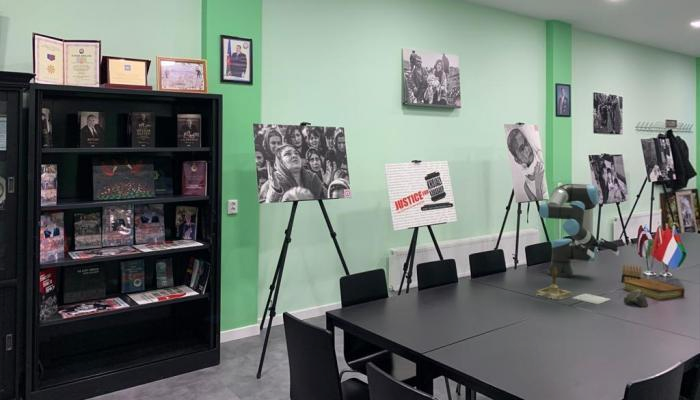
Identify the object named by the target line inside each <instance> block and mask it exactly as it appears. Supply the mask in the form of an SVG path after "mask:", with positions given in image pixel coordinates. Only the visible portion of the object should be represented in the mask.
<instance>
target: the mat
mask: <svg viewBox="0 0 700 400" xmlns="http://www.w3.org/2000/svg"><path fill="white" fill-rule="evenodd" d="M572 298H573V300H576V299H577V301H580V300H581V302H586V303H590V304H594V305H602V304H605V303H606V302H609V301H611V300H612V299H611V298H607V297H603V296H599V295H594V294H589V293H582V294H579V295H576V296H573V297H572Z"/></svg>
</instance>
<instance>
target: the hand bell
mask: <svg viewBox="0 0 700 400" xmlns="http://www.w3.org/2000/svg"><path fill="white" fill-rule="evenodd" d="M551 276H552V284H550V285H549V286H548V287H549V291H548V292H547V293H551V294H555V295H560V293H559V290H558V289H559V286H558V285H557V269H556V267H554V268H553V271H552V275H551Z"/></svg>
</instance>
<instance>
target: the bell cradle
mask: <svg viewBox="0 0 700 400" xmlns="http://www.w3.org/2000/svg"><path fill="white" fill-rule="evenodd" d="M549 287H550V286H548V287H544V288H540V289H537V290H536V291H535V295H536V296H538V295H540V296H539V297H542V296H544V297H543V298H546V297H548V298H547V299H550V298H552V299H551V300H554V299H555V301H558V300H559V301H561V299H562V300H565V299H567V298H572V295H573V294H572V293H573V292H572V291H568V290H565V289H561V288H558V290H559V293H560V295H555V294H551V293H547V292H548V291H549ZM564 298H565V299H564Z"/></svg>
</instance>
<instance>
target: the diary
mask: <svg viewBox="0 0 700 400" xmlns="http://www.w3.org/2000/svg"><path fill="white" fill-rule="evenodd" d="M623 284H624V288H623V289H622V290H623V291H627V292H629V293H630V292H631V291H635V290H637V289H639V290H642V292H643V294H644V296H645V298H646V297H647V298H650V299H654V300H656V299H657V300H656V301H666V300H667V301H668V300H674V299H675V300H676V299H680V298H685V291H686V290H685V288H683V287H681V286H677V285H673V284H668V283H665V282H661V281H656V280H654V279H648V278H641V279H637V280H628V281H623Z"/></svg>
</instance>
